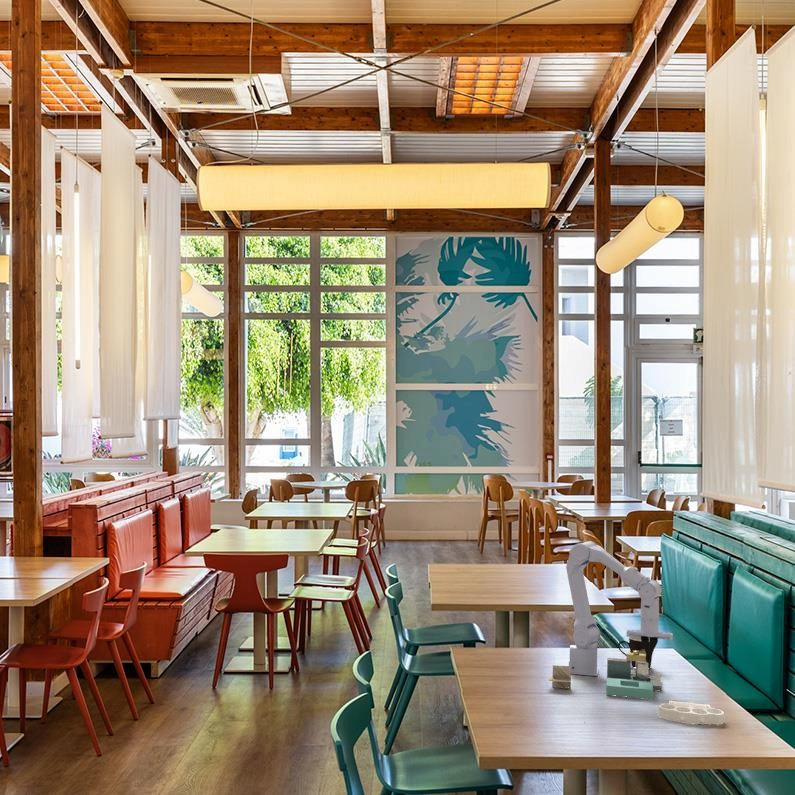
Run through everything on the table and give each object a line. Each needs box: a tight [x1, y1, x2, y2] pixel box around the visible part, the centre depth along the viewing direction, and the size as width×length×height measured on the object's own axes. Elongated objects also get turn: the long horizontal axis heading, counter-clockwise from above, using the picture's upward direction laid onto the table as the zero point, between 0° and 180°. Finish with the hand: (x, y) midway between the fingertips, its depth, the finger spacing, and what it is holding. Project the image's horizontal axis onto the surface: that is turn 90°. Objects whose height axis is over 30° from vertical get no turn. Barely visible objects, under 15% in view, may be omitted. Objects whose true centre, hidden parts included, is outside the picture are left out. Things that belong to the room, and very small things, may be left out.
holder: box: [606, 677, 654, 700], centre depth 281 cm, size 14×9×3 cm, turn 76°
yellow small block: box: [625, 650, 646, 662], centre depth 292 cm, size 6×2×3 cm, turn 76°
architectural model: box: [548, 664, 572, 690], centre depth 284 cm, size 3×7×7 cm, turn 84°
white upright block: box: [634, 661, 649, 681], centre depth 292 cm, size 4×4×7 cm
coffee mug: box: [617, 636, 653, 669], centre depth 313 cm, size 12×9×10 cm
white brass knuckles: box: [658, 700, 725, 725], centre depth 259 cm, size 3×18×15 cm
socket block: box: [606, 657, 663, 692], centre depth 292 cm, size 17×12×7 cm
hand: (648, 660), depth 291 cm, fingers closed
